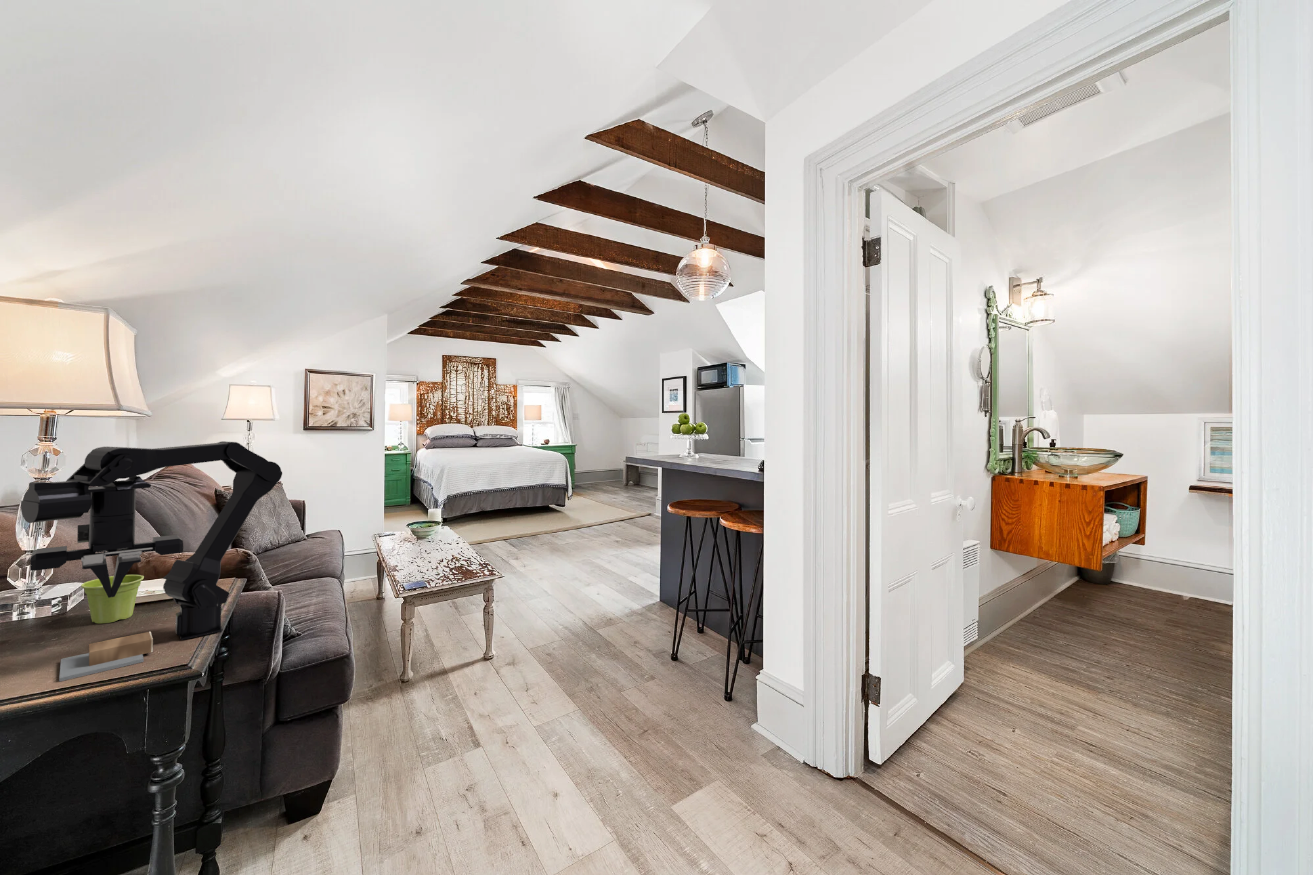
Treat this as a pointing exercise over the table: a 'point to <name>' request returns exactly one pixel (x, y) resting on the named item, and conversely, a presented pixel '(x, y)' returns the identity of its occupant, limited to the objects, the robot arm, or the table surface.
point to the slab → (120, 648)
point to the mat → (80, 666)
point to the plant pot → (112, 599)
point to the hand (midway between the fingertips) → (111, 596)
